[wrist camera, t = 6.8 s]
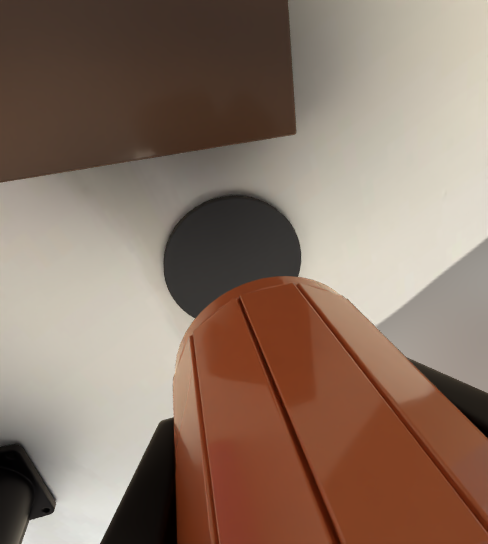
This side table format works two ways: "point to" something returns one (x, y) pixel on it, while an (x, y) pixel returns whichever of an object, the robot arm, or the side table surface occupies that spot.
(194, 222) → the coaster
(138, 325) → the side table surface
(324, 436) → the cup
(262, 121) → the shelf
